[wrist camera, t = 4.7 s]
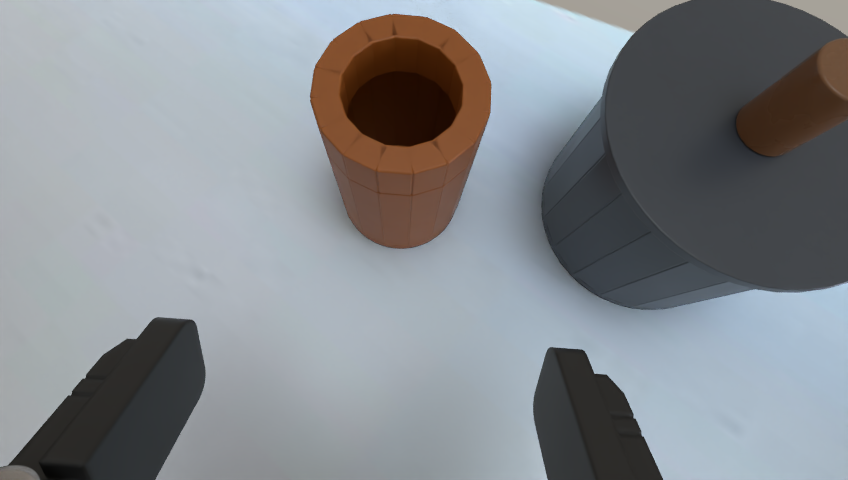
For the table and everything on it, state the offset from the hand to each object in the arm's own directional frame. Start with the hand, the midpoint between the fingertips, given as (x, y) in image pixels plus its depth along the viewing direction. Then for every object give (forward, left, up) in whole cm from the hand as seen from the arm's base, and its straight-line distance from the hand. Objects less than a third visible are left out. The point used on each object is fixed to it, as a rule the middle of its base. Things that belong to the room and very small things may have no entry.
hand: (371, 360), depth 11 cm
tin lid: (+13, +9, -4) cm, 16 cm away
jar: (0, +9, -13) cm, 16 cm away
